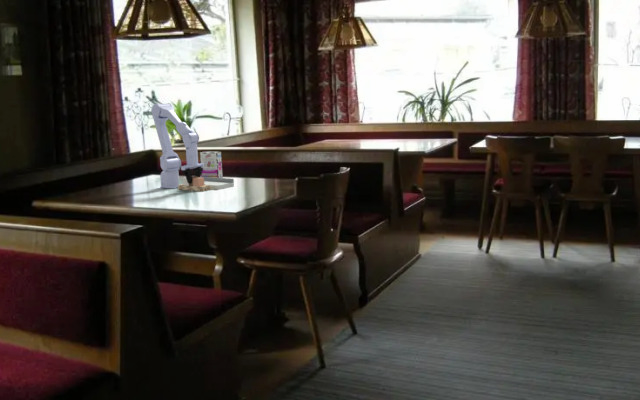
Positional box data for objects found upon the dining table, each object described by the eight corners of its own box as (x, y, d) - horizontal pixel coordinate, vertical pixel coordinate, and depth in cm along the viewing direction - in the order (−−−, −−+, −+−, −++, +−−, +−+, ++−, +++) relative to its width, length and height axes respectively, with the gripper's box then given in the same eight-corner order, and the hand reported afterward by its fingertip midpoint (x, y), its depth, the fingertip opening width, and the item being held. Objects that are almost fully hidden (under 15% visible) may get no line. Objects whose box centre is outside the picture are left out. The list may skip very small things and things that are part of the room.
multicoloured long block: (178, 189, 356) (177, 176, 355) (185, 188, 360) (184, 175, 359) (203, 191, 346) (202, 178, 345) (210, 190, 350) (209, 176, 349)
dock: (184, 186, 364) (184, 179, 363) (200, 183, 374) (200, 176, 373) (218, 189, 350) (217, 181, 350) (233, 186, 360) (233, 178, 359)
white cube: (183, 185, 354) (182, 177, 353) (189, 184, 357) (188, 176, 357) (188, 185, 352) (188, 177, 351) (194, 184, 355) (194, 176, 354)
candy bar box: (223, 180, 382) (221, 151, 380) (218, 182, 378) (217, 152, 375) (205, 180, 387) (204, 151, 384) (201, 181, 382) (199, 152, 379)
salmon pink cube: (193, 186, 350) (192, 178, 349) (198, 184, 353) (198, 177, 353) (198, 186, 348) (198, 178, 347) (204, 185, 351) (203, 177, 350)
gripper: (187, 157, 342) (189, 184, 344) (207, 154, 354) (209, 181, 356) (177, 157, 346) (179, 184, 348) (197, 154, 358) (199, 180, 360)
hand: (193, 182), depth 352 cm, fingers open, 5 cm apart
